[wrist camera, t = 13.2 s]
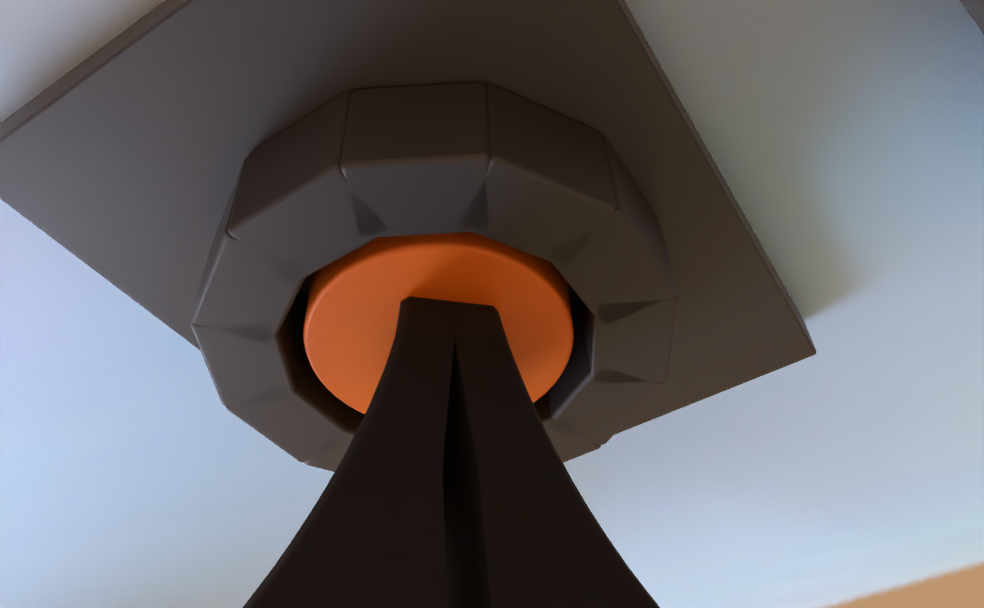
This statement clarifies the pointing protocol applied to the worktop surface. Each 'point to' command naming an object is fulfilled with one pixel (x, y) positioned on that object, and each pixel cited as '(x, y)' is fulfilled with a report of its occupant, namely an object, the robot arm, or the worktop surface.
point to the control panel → (975, 11)
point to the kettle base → (402, 192)
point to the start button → (435, 275)
